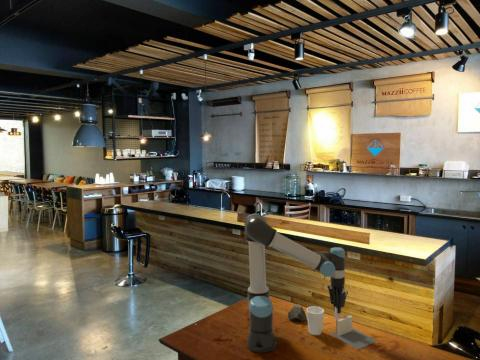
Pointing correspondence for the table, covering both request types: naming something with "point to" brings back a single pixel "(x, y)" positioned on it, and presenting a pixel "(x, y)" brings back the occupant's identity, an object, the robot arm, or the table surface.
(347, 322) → the tile
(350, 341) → the mat
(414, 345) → the table surface
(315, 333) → the foam cup
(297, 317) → the fossil
